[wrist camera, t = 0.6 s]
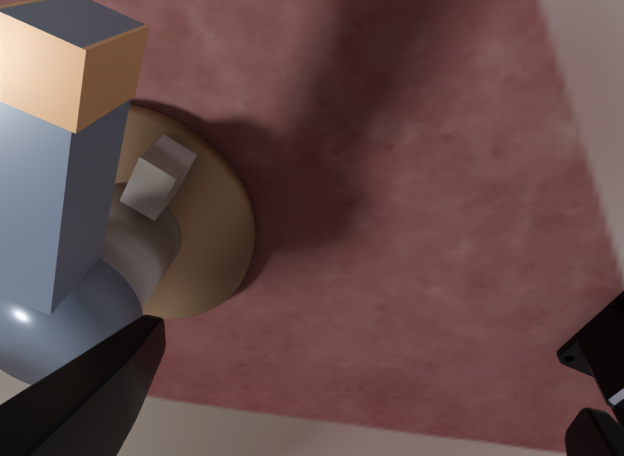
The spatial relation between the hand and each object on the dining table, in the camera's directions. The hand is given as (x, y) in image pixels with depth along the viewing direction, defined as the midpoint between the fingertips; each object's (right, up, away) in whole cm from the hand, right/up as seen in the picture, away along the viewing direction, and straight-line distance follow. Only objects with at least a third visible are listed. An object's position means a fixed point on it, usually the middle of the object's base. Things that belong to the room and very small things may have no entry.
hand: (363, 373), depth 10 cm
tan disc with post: (-10, +4, +14) cm, 17 cm away
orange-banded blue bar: (-9, +3, +6) cm, 11 cm away
